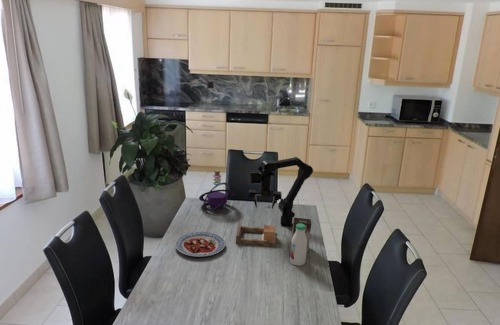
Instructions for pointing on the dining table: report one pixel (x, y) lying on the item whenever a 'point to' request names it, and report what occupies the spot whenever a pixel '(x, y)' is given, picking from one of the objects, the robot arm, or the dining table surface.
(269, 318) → the dining table surface
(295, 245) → the milk bottle
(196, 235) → the ceramic plate
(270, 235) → the block
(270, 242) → the bay
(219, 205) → the decorative bottle
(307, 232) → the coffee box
